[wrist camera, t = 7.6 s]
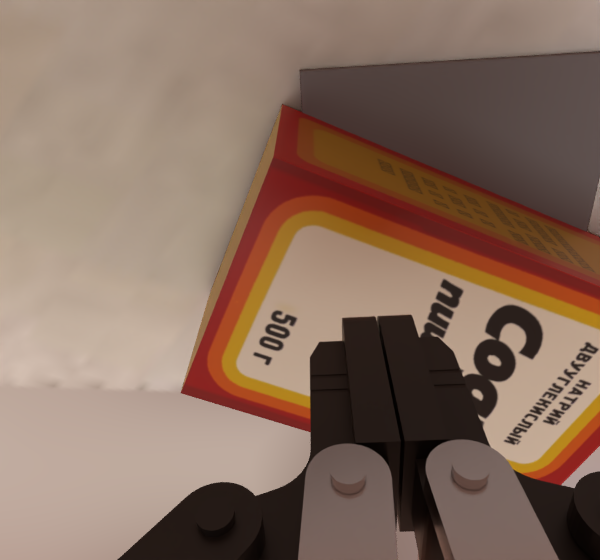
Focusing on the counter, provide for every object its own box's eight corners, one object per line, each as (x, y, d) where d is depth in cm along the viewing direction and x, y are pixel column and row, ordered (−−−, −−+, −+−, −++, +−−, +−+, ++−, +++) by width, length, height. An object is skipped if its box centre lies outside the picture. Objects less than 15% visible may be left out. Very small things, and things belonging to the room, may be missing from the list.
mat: (313, 311, 26) (313, 316, 26) (300, 69, 20) (299, 71, 20) (566, 300, 25) (570, 304, 25) (623, 50, 20) (628, 51, 20)
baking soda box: (273, 155, 15) (721, 334, 18) (282, 103, 21) (621, 246, 24) (180, 393, 19) (551, 505, 22) (208, 297, 25) (501, 396, 28)
